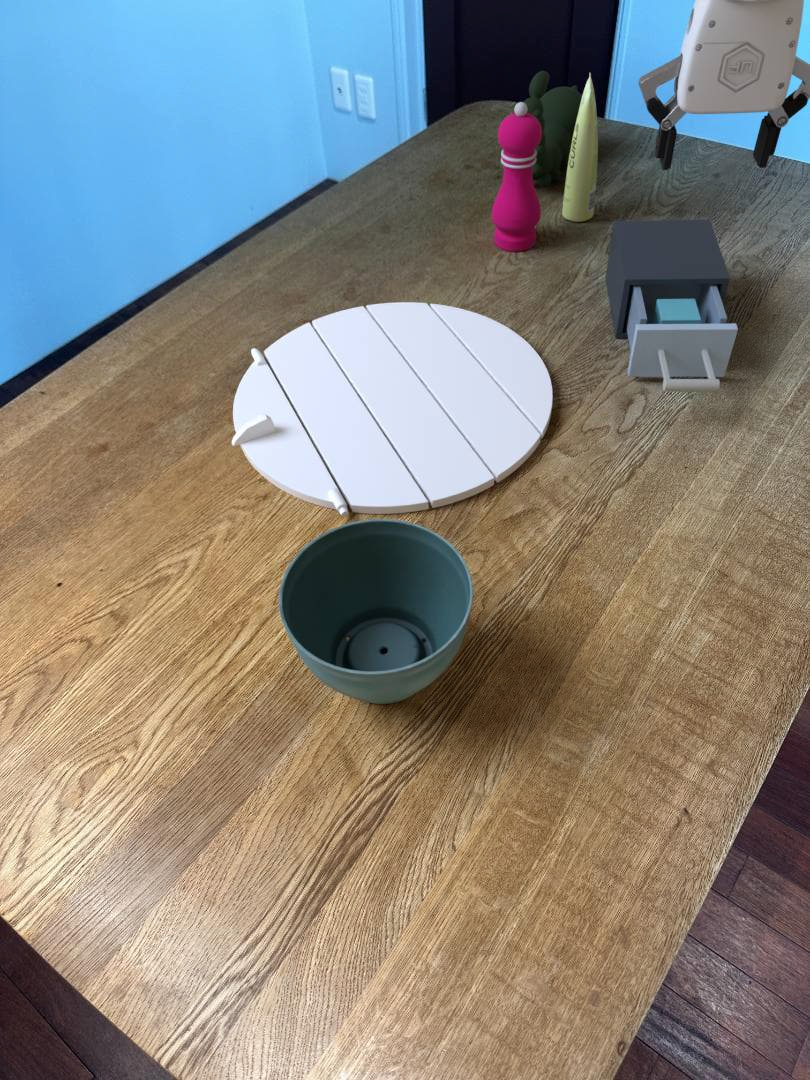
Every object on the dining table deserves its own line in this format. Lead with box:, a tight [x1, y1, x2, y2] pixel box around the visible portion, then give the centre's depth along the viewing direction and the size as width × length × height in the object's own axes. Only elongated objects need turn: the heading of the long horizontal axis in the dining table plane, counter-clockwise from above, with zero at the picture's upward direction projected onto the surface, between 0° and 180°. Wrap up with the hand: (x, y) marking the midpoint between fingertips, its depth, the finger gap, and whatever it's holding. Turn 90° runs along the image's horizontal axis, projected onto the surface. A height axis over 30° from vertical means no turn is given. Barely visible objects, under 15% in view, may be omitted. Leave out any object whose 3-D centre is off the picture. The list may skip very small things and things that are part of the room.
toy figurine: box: [522, 70, 583, 188], centre depth 133 cm, size 9×19×25 cm
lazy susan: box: [231, 301, 554, 518], centre depth 99 cm, size 40×39×3 cm
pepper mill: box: [491, 101, 542, 253], centre depth 116 cm, size 7×7×20 cm
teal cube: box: [652, 299, 701, 324], centre depth 100 cm, size 5×5×5 cm
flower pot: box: [278, 518, 474, 705], centre depth 71 cm, size 16×16×11 cm
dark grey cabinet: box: [605, 219, 731, 339], centre depth 107 cm, size 15×13×9 cm
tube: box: [561, 71, 599, 223], centre depth 121 cm, size 6×5×20 cm
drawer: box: [625, 284, 739, 393], centre depth 98 cm, size 21×11×7 cm, turn 176°
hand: (711, 163), depth 85 cm, fingers open, 9 cm apart
